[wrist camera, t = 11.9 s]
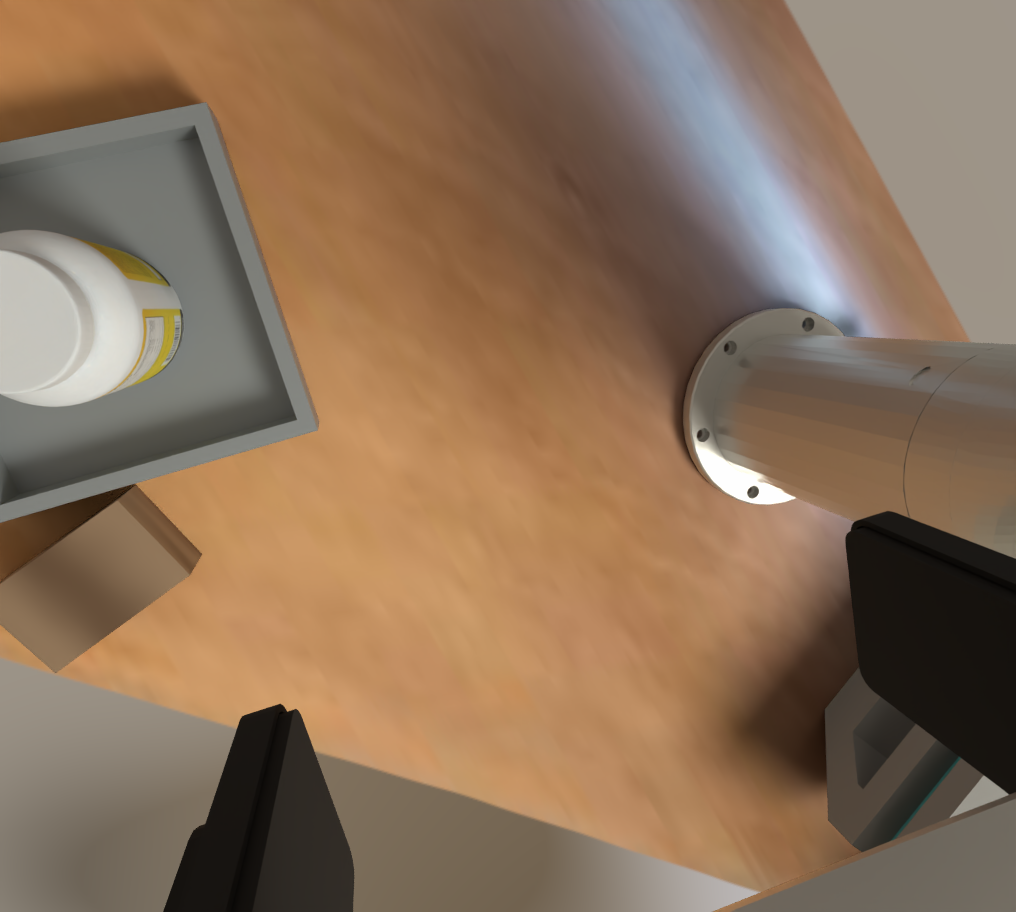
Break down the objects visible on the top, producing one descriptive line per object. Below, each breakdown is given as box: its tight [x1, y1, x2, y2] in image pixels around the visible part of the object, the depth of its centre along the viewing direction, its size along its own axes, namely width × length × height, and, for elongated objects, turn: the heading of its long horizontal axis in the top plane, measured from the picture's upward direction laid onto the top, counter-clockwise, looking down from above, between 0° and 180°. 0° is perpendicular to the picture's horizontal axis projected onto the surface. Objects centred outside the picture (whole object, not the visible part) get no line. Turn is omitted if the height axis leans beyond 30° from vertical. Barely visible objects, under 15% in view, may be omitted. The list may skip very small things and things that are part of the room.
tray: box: [0, 102, 319, 523], centre depth 31 cm, size 16×16×3 cm
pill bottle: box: [0, 230, 184, 407], centre depth 27 cm, size 6×6×12 cm
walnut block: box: [0, 485, 202, 673], centre depth 33 cm, size 8×5×3 cm, turn 124°
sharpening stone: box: [825, 667, 1009, 852], centre depth 45 cm, size 25×8×11 cm, turn 140°
